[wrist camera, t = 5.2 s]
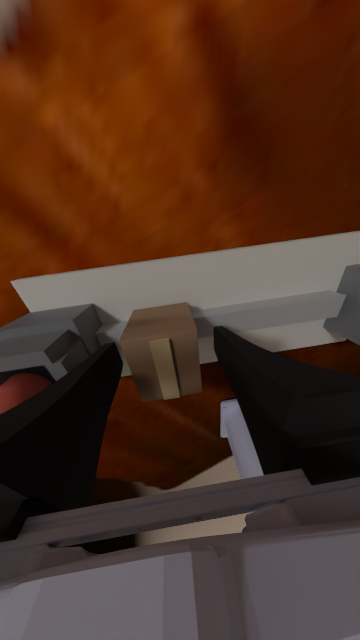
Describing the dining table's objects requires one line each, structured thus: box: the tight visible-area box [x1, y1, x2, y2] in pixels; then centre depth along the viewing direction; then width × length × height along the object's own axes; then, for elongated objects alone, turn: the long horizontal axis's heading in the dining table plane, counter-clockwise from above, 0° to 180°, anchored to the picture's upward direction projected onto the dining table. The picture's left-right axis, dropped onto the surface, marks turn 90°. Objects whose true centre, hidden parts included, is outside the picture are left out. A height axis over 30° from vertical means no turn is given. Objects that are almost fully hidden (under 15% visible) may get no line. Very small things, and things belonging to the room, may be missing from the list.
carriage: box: [119, 302, 202, 402], centre depth 11 cm, size 5×4×6 cm
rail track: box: [0, 231, 360, 386], centre depth 12 cm, size 11×30×6 cm, turn 97°
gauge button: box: [0, 373, 52, 414], centre depth 8 cm, size 2×2×2 cm
